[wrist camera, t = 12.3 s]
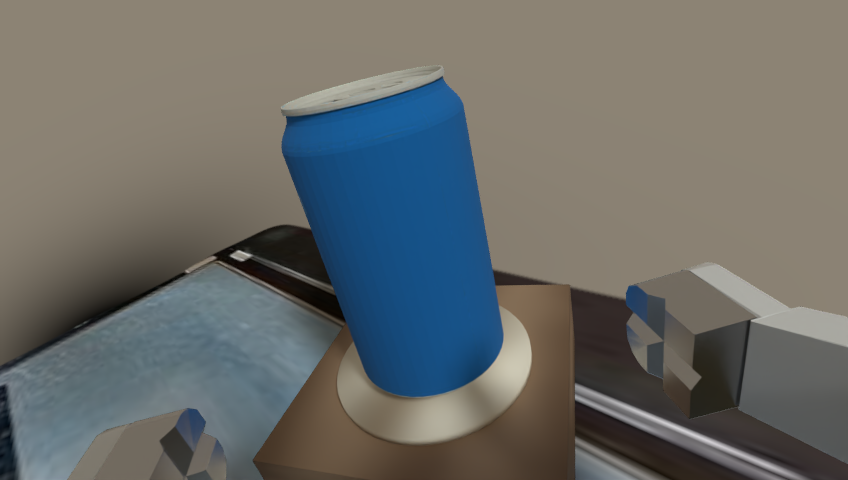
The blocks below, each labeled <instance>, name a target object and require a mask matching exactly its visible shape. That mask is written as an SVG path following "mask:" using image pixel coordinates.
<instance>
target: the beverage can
mask: <svg viewBox="0 0 848 480" xmlns="http://www.w3.org/2000/svg"><path fill="white" fill-rule="evenodd" d="M443 75H444V69H443V66H438V65H437V66H425V67H418V68H412V69H407V70H402V71H397V72H393V73H388V74H383V75H379V76H375V77H370V78H366V79H362V80H358V81H355V82H351V83H347V84H343V85H340V86H336V87H333V88H329V89H326V90H323V91H319V92H316V93H313V94H310V95H307V96H304V97H301V98H299V99H296V100H293V101H291V102H289V103H287V104H285V105H283V106H282V107H281V108H280V109H281V111H282V114H283V116H286V118H287V125H286V129H285V132H284V135H283V139H282V153H283V156H284V158H285V161H286V164H287V166H288V169H289V172H290V174H291V177H292V180H293V182H294V185H295V188H296V190H297V193H298V196H299V198H300V201H301V203H302V206H303V209H304V211H305V214H306V217H307V219H308V222H309V225H310V227H311V230H312V233H313V235H314V238H315V241H316V243H317V246H318V249H319V251H320V254H321V257H322V259H323V262H324V264H325V267H326V270H327V272H328V275H329V278H330V280H331V283H332V286H333V288H334V291H335V294H336V296H337V299H338V302H339V304H340V307H341V310H342V312H343V315H344V318H345V320H346V323H347V325H348V328H349V331H350V333H351V336H352V339H353V341H354V344H355V347H356V349H357V352H358V355H359V357H360V360H361V363H362V365H363V368H364V371H365V373H366V374H367V376H368V378H369V379H370V380H371V381H372V382H373V383H374V384H375V385H376V386H377V387H379V388H380V389H382V390H384V391H386V392H388V393H391V394H393V395H398V396H402V397H410V398H424V397H433V396H438V395H443V394H446V393H449V392H452V391H455V390H458V389H460V388H462V387H464V386H466V385H468V384H470V383H471V382H473V381H475V380H476V379H477V378H479V377H480V376H482V375H483V374H484V373H485V372H486V371H487V370H488V369H489V368H490V367H491V366H492V364H493V363H494V362H495V360H496V359H497V357H498V356H499V354H500V351H501V349H502V345H503V340H504V333H503V327H502V321H501V315H500V310H499V304H498V298H497V293H496V287H495V281H494V276H493V270H492V265H491V259H490V253H489V247H488V242H487V236H486V231H485V225H484V219H483V214H482V208H481V203H480V197H479V191H478V185H477V180H476V175H475V169H474V163H473V157H472V152H471V146H470V140H469V134H468V129H467V123H466V118H465V112H464V106H463V103H462V101H461V99H460V97H459V96H458V95H457V94H456V93H455V92H454V91H453V90H452V89H451V88H450V87H449V86H448V85H447V84H446V83H445V81H444V79H443Z"/></svg>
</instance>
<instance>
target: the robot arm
mask: <svg viewBox="0 0 848 480" xmlns="http://www.w3.org/2000/svg"><path fill="white" fill-rule="evenodd" d="M626 305H627V306H628V307H629V308H630V309H631V310H632V311H633V312H634V313H633V314H632V316H631V318H630V319H629V321H628V322H627V337H628V341H629V343H630V346H631V349H632V352H633V354H634V355H635V357H636V359H637V360H638V362H639V363H640V364H641V365H642V367H643V368H644V369H645V370H646V371H647V372H648V373H650V374H653V375H655V376H658V377H660V378H663V391H664V392H665V393H666V394H667V395H668V396H669V397H670V398H671V400H672V401H673V402H674V403H675V404H676V405H677V406H678V407H679V409H680V410H681V411H682V412H683V413H684V414H685V415H686V416H687V417H688V419H693V418H697V417H701V416H704V415H708V414H712V413H716V412H720V411H724V410H728V409H732V408H735V407H739V410H741V411H743V412H745V413H747V414H749V415H751V416H753V417H755V418H757V419H759V420H761V421H763V422H765V423H767V424H769V425H771V426H773V427H775V428H777V429H779V430H781V431H783V432H785V433H787V434H789V435H791V436H793V437H795V438H797V439H799V440H801V441H803V442H805V443H807V444H809V445H811V446H813V447H815V448H817V449H819V450H821V451H823V452H825V453H827V454H829V455H831V456H833V457H835V458H837V459H839V460H841V461H843V462H845V463H847V464H848V317H845V316H840V315H836V314H831V313H827V312H823V311H818V310H813V309H809V308H805V307H797V308H793V309H790V308H789V307H787V306H785V305H784V304H782V303H780V302H779V301H777V300H775V299H774V298H772V297H770V296H769V295H767V294H766V293H764V292H762V291H761V290H759V289H757V288H756V287H754V286H752V285H751V284H749V283H747V282H746V281H744V280H743V279H741V278H739V277H737V276H736V275H734V274H732V273H731V272H729V271H728V270H726V269H724V268H723V267H721V266H719V265H718V264H714V263H710V262H706V263H703V264H700V265H696V266H693V267H690V268H687V269H683V270H681V271H680V272H676V273H672V274H669V275H665V276H662V277H658V278H655V279H651V280H648V281H644V282H641V283H637V284H634V285H630V286H629V287H628V290H627V292H626ZM205 424H206V421H205V420H204V419H203V417H202V416H201V415H200V413H199V412H198V410H197V409H190V408H187V409H183V410H179V411H175V412H172V413H168V414H164V415H160V416H156V417H152V418H148V419H144V420H140V421H136V422H134V423H130V424H126V425H122V426H118V427H115V428H111V429H107V430H105V431H104V432H102V433H101V434H99V435H97V436H96V438H95V439H94V441H93V442H92V444H91V445H90V447H89V448H88V450H87V451H86V452H85V454H84V455H83V457H82V458H81V460H80V461H79V463H78V464H77V466H76V467H75V469H74V470H73V472H72V473H71V475H70V476H69V478H68V479H67V480H226V458H225V455H224V451H223V448H222V446H221V445H220V443H219V442H218V440H217V439H216V438H214V437H211V436H209V435H207V434H205V433H203V431H204V427H205Z"/></svg>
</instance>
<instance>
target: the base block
mask: <svg viewBox="0 0 848 480" xmlns="http://www.w3.org/2000/svg"><path fill="white" fill-rule="evenodd" d="M495 287H496V293H497V298H498V304H499V310H500V315H501V321H502V327H503V333H504V340H503V345H502V349H501V351H500V354H499V356H498V357H497V359H496V360H495V362H494V363H493V364H492V366H491V367H490V368H489V369H488V370H487V371H486V372H485V373H484V374H483V375H482V376H480V377H479V378H477V379H476V380H475V381H473V382H471V383H470V384H468V385H466V386H464V387H462V388H460V389H458V390H455V391H452V392H449V393H446V394H443V395H438V396H433V397H424V398H410V397H402V396H398V395H393V394H391V393H388V392H386V391H384V390H382V389H380V388H379V387H377V386H376V385H375V384H374V383H373V382H372V381H371V380H370V379H369V378H368V376H367V374H366V373H365V371H364V368H363V365H362V363H361V360H360V357H359V355H358V352H357V349H356V347H355V344H354V341H353V339H352V336H351V333H350V331H349V328H348V325H347V323H346V324H345V325H344V327H343V328H342V330H341V331H340V333H339V334H338V336H337V337H336V338H335V340H334V341H333V343H332V344H331V346H330V347H329V349H328V350H327V352H326V353H325V355H324V356H323V358H322V359H321V361H320V362H319V363H318V365H317V366H316V368H315V369H314V371H313V372H312V374H311V375H310V377H309V378H308V380H307V381H306V383H305V384H304V385H303V387H302V388H301V390H300V391H299V393H298V394H297V396H296V397H295V399H294V400H293V402H292V403H291V405H290V406H289V408H288V409H287V410H286V412H285V413H284V415H283V416H282V418H281V419H280V421H279V422H278V424H277V425H276V427H275V428H274V430H273V431H272V432H271V434H270V435H269V437H268V438H267V440H266V441H265V443H264V444H263V446H262V447H261V449H260V450H259V452H258V453H257V455H256V456H255V457H254V459H253V460H252V461H253V462H254V464H255V466H256V467H257V469H258V471H259V472H260V474H261V475H262V477H263V479H264V480H575V342H574V330H573V318H572V307H571V295H570V285H516V286H495Z"/></svg>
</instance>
